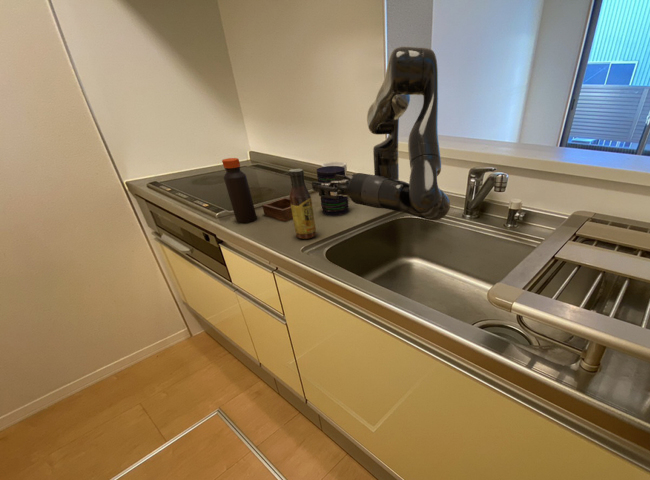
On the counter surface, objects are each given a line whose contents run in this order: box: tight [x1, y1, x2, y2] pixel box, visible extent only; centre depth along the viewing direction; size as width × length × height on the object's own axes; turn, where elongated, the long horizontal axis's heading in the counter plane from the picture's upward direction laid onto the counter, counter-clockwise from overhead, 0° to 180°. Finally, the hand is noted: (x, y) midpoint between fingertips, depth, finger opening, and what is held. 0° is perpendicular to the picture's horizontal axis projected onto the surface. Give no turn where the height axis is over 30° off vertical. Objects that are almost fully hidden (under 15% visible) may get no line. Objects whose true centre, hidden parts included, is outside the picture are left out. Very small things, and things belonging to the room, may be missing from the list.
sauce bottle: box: [288, 168, 317, 240], centre depth 102 cm, size 7×6×20 cm
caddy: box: [261, 197, 293, 222], centre depth 123 cm, size 10×11×4 cm
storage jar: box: [316, 166, 350, 217], centre depth 121 cm, size 10×10×15 cm
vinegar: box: [221, 157, 258, 224], centre depth 114 cm, size 7×7×20 cm
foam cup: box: [321, 161, 348, 176], centre depth 136 cm, size 10×9×13 cm
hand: (324, 182), depth 92 cm, fingers open, 8 cm apart
